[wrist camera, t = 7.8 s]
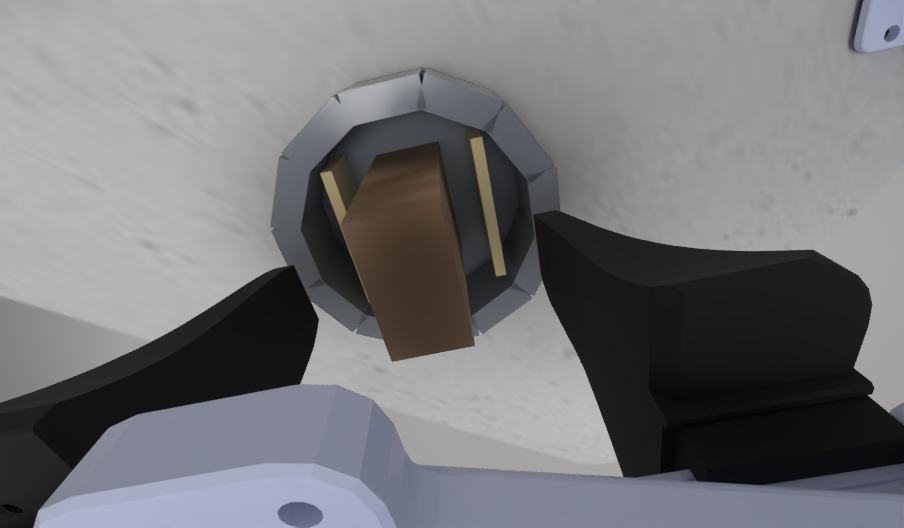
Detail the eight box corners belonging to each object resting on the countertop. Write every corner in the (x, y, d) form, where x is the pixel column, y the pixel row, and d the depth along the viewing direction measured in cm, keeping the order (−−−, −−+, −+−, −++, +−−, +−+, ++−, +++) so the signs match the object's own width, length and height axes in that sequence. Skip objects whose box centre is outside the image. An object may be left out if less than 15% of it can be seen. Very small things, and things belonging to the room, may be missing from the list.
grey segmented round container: (521, 42, 15) (544, 42, 12) (548, 274, 20) (570, 317, 17) (262, 105, 16) (219, 121, 12) (348, 314, 20) (333, 363, 17)
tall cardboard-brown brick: (437, 140, 16) (440, 203, 10) (461, 242, 18) (474, 345, 12) (376, 155, 16) (340, 224, 10) (406, 254, 18) (391, 361, 12)
